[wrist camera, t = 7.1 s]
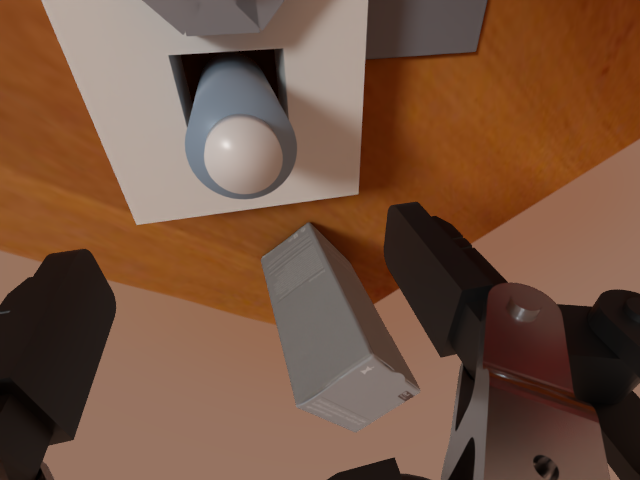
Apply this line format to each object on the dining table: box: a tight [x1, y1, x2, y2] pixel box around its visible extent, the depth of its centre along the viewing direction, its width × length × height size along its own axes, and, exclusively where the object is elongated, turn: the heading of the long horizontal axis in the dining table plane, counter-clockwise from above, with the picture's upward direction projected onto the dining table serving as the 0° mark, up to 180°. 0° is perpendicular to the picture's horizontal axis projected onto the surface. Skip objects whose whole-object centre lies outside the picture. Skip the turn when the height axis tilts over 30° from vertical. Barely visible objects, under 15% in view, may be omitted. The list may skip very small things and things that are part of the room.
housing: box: [42, 0, 368, 225], centre depth 20 cm, size 20×16×7 cm
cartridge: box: [185, 52, 297, 199], centre depth 19 cm, size 5×5×13 cm
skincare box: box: [261, 223, 420, 432], centre depth 29 cm, size 8×7×16 cm
